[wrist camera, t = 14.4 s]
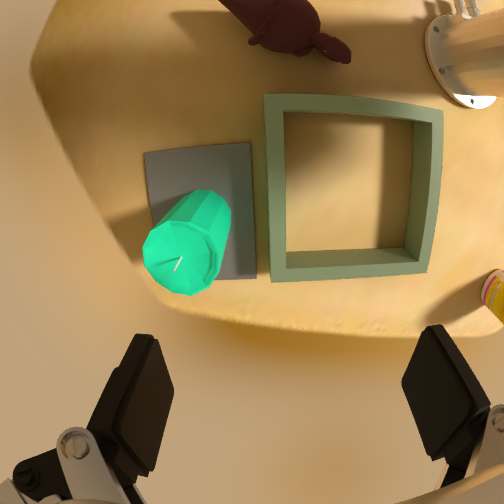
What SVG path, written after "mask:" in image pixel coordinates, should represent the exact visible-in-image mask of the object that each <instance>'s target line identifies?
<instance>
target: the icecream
mask: <svg viewBox="0 0 504 504" xmlns="http://www.w3.org/2000/svg"><path fill="white" fill-rule="evenodd" d="M218 1H220V2H221V3H222V4H223V5H224V6H225V7H226V8H227V9H228V10H230V11H231V12H232V13H233V14H234V15H235V16H236V17H237V18H238V19H239V20H240V21H241V22H242V23H243V24H244V25H245V26H246V27H247V28H248V29H249V30H250V31H251V32H252V33H253V34H254V35H253V36H252V37H251V38H250V39H249V40H248V44H249V45H253V46H254V45H256V44H260V45H261V46H262V47H264V48H266V49H269V50H271V51H274V52H281V53H292V54H294V55H296V56H297V57H300V56H304V55H308V54H309V53H310V52H311V51H312V50H313V48H314V49H316V50H317V51H318V52H320V53H321V54H322V55H324V56H325V57H327V58H329V59H331V60H332V61H336V62H341V63H343V64H349V63H350V62H351V51H350V49H349V48H348V46H347V45H346V44H344V43H343V42H342V41H340V40H339V39H337V38H335V37H331V36H329V35H327V34H324V33H320V24H321V22H320V19H319V16H318V14H317V12H316V10H315V9H314V7H313V6H312V5H311V3H309V2H308V1H307V0H218Z"/></svg>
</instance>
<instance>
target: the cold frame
mask: <svg viewBox="0 0 504 504" xmlns="http://www.w3.org/2000/svg"><path fill="white" fill-rule="evenodd" d="M263 104H264V125H265V148H266V173H267V201H268V233H269V267H270V277H271V283H275V282H297V281H317V280H335V279H351V278H367V277H381V276H394V275H407V274H419V273H427V269H428V264H429V259H430V254H431V249H432V244H433V238H434V232H435V226H436V220H437V213H438V205H439V196H440V187H441V175H442V161H443V111H442V110H438V109H433V108H428V107H423V106H418V105H413V104H407V103H401V102H395V101H388V100H380V99H372V98H363V97H353V96H341V95H325V94H292V93H280V94H264V98H263ZM283 113H331V114H348V115H361V116H372V117H381V118H390V119H398V120H405V121H412V122H413V162H412V179H411V192H410V203H409V212H408V221H407V228H406V235H405V242H404V247H401V248H376V249H351V250H326V251H300V252H286V195H285V153H284V124H283Z"/></svg>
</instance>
